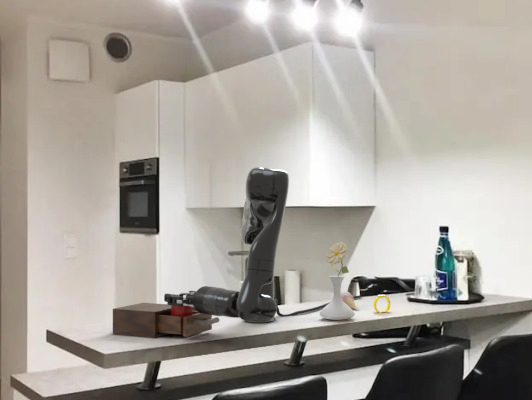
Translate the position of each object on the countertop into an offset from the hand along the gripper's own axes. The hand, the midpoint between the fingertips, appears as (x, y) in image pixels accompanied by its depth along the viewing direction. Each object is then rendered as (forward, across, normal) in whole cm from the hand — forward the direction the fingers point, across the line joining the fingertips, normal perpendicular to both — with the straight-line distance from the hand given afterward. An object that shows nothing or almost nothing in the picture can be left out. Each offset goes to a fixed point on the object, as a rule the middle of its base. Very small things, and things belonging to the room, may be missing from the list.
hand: (177, 295), depth 201 cm
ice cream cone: (-4, -73, +11) cm, 74 cm away
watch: (-20, -71, +11) cm, 74 cm away
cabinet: (+9, +4, +11) cm, 14 cm away
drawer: (-3, 0, +10) cm, 10 cm away
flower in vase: (-18, -49, +11) cm, 54 cm away
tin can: (-2, 0, +9) cm, 9 cm away
